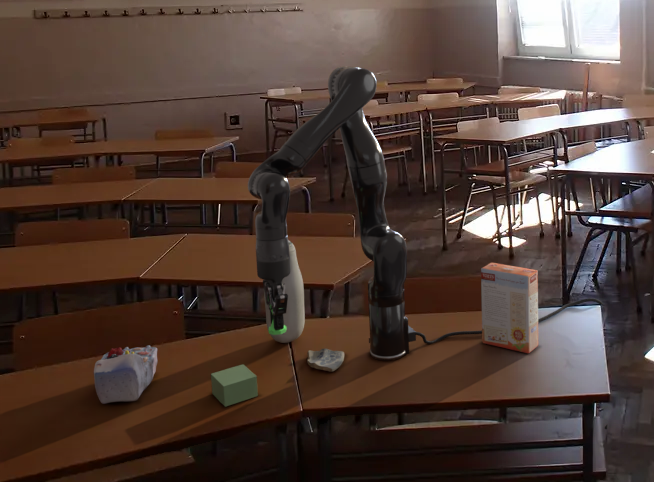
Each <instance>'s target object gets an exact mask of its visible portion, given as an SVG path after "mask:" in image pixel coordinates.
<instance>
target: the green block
mask: <svg viewBox="0 0 654 482" xmlns="http://www.w3.org/2000/svg"><path fill="white" fill-rule="evenodd" d="M210 380H211V381H210V382H211V394H212V395H213V396H214V397H215V398H216V399H217V400H218V401H219V403H221V404H222V405H223V406H224V408H226V407H229V406H231V405H235V404H238V403H241V402H244V401H247V400H250V399H254V398H256V397H258V396H259V392H258V390H259V389H258V376H257V375H256V374H255V373H254V372H252V371H251V370H250V369H249V368H248V367H247V366H246V365H245V364H239V365H236V366H235V365H234V366H232V367H228V368H226V369H222V370H220V371H216V372H212V373H210Z"/></svg>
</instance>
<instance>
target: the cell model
mask: <svg viewBox="0 0 654 482" xmlns="http://www.w3.org/2000/svg"><path fill="white" fill-rule="evenodd" d="M158 362H159V361H158V348H157V347H155V346H151V345H146V346H145V347H137V346H136V347H132V348H129V346H126V347H124V348H123V349H122V347H119V346H118V347H115V348H110V350H109V351H108V352H106V353H105V354H103V355H102V357H101V359H98V360H97V361H96V362H95V364H94V367H93V376H94V377H93V378H94V388H95V392H96V395H97V397H98V399H99V402H100V403H101V404H102V405H105V404H110V403H117V402H126V403H127V402H136V401H138V400H139V399H140V397H141V395H142V394H143V392H144V391H145V390H146V389H147V388H148V386H149V385H150V384H151V383H152V381H153V380H154V375H155V373H156V370H157V365H158Z"/></svg>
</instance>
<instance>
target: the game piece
mask: <svg viewBox="0 0 654 482" xmlns="http://www.w3.org/2000/svg"><path fill="white" fill-rule="evenodd" d="M279 309H280V308H279ZM271 311H272V310H271ZM272 312H273V311H272ZM272 314H273V313H272ZM285 332H286V326H285V325H284V328H283V329H280V330H275V329H274V323H273V321H272V324H271V327H269V332H268V334H269V335H270V334H272V335H278V334H282V333H285Z"/></svg>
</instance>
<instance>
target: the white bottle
mask: <svg viewBox="0 0 654 482" xmlns="http://www.w3.org/2000/svg"><path fill="white" fill-rule="evenodd" d="M288 242H289V253H290V270H291V272H290V274H289V275H288V276H287V277H285V278H283V280H282V281H283V283H285V289H286V290H285V294H287V295H288V301H287V310H286V313H285V314H283V319H284V325H285V326H286V332H285V333H282V334H278V335H272V334H269V336H271V338H272V339H273V340H274V341H276V342H277V343H281V344H287V343H291V342H293V341H295V340H297V339H298V338H300V336H301V335H302V334H303V331H304V328H305V324H306V323H305V321H306V318H305V317H306V315H305V289H304V280H303V275H302V272H301V268H300V267H299V264H298V258H297V251H296V247H295V245H294V244H293V242H291V240H289V239H288ZM263 295H264V296H263V297H264V306H265V321H266V330H267V332H268V333H269V327H271V320H270V310H269V308H268V305H267V304H266V297H265V291H264V290H263ZM280 309H281V308H280Z"/></svg>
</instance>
